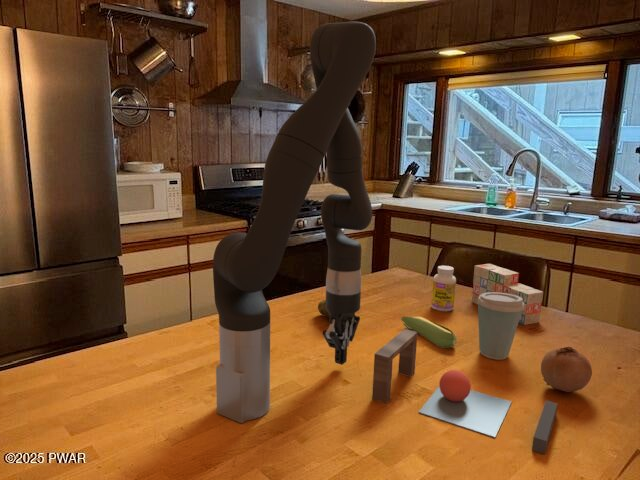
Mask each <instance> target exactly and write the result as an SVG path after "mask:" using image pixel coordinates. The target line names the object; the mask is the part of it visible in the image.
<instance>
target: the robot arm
mask: <svg viewBox="0 0 640 480" xmlns="http://www.w3.org/2000/svg"><path fill="white" fill-rule="evenodd" d="M376 40H377V39H376V35H375V31H374V29H373V28H372V27H371V26H370V25H369V24H367V23H365V22H361V21H342V22H341V21H340V22H330V23H329V22H328V23H324V24H323V23H322V24H321V25H319V26H318V27H317V28H316V29H315V30H314V31H313V33H312V35H311V38H310V41H309V57H310V64H311V65H310V66H311V70H312V75H313V79H314V82H315V83H314V84H315V88H316V90H315V91H314V93H312V94H311V95H310V96H309V98H308V99H306V101H304V102H303V103H302V104H301V105H300V106H299V107H298V108H297V109H296V110H295V111H294V112H293V113H292V114H291V115H290V116H289V117H288V118H287V119H286V121H284V123H283V124H282V125H281V127H280V128H279V131H278V133H277V135H276V136H275V138H274V141H273V143H272V146H271V148H270V149H269V152H268V154H267V156H266V157H267V158H266V160H265V164H264V169H263V177H262V192H261V199H260V203H259V206H258V210H257V213H256V214H255V217H254V219H253V221H252V223H251V225H250V227H249V229H248V231H247V233H244V232H231V233H229V234H227V235H225V236H224V237H222V238H221V239H220V240H219V242H218V244H217V245H216V248H215V250H214V253H213V258H212V277H213V278H212V280H213V292H214V293H213V295H214V296H213V297H214V304H215V308H216V310H217V313H218V323H219V324H218V325H219V327H218V328H219V329H218V330H219V331H218V332H219V334H218V335H219V363H218V365H216V367H215V375H216V376H215V379H216V383H215V384H216V413H217V414H219V415H220V416H224V417H226V418H229V419H230V420H233V421H235V422H237V423H240V424H243V423H245V422H247V421H251V420H255V419H258V418H261V417H263V416H264V415H266V414H267V413H268V412H269V410H270V408H271V407H270V406H271V308H270V305H269V304H268V301H267V300H266V298H265V295H264V293H263V290H264V289H266V287H268V286H269V285H270V284H271V282H272V281H273V279H274V278H275V276H276V275H277V272H278V271H279V269H280V266H281V263H282V260H283V256H284V254H285V251H286V248H287V245H288V242H289V240H290V236H291V233H292V230H293V227H294V225H295V223H296V220H297V218H298V216H299V213H300V212H301V209H302V206H303V204H304V202H305V199H306V198H307V195H308V192H309V191H310V188H311V186H312V184H313V182H314V180H315V178H316V176H317V174H318V172H319V169H320V168H321V165H322V164H323V161H324V158H325V156H326V169H327V180H328V182H329V183H330V184H331V185H333V186H335V187H337V188H341V189H343V190H344V191H346V192H347V195H346V194H339V193H333V194H329V195H327V196H326V197H324V199H323V201H322V204H321V206H320V217H321V222H322V227H323V230H324V234H325V235H324V236H325V238H326V239H325V240H326V244H327V249H328V250H327V257H328V258H327V269H326V270H327V271H326V275H325V277H326V278H325V300H326V303H325V306H326V309H327V310H328V311H329V312H330V314H331V315H330V318H328V319H329V320H328V324H329V326H328V328H327V329H323V331H322V336H323V338H324V339H325V341H326V343H327V345H328V346H329V348H333V349H334V363H336V364H338V365H344V364H345V363H346V362H347V358H348V357H347V356H348V347H349V346H350V342H353V341H354V337H355V334H356V331H357V329H358V325H359V323H360V320H361V317H360V316H359V315H356V313H357V312H359V311H360V309H361V299H362V298H361V297H362V296H361V295H362V271H361V270H362V244H361V243H360V242H359V241H358V240H355V239H352V238H350V237H348V236H346V235H345V234H344V232H343V230H342V229H344V230H351V231H363V230H365V229H367V228H368V227H369V226H370V224H371V221H372V219H373V207H372V202H371V200H370V197H369V193H368V191H367V187H366V183H365V180H364V174H363V146H362V140H361V135H360V133H359V130H358V128H357V124H355V121H354V119H353V117H352V114H351V112H350V109H349V106H350V104H351V102H352V101H353V99H354V97H355V96H356V94H357V92H358V91H359V89H360V87H361V85H362V83H363V81H364V79H365V78H366V76H367V74H368V72H369V71H370V69H371V67H372V64H373V62H374V58H375V55H376V49H377V41H376Z"/></svg>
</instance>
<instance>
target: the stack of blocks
mask: <svg viewBox="0 0 640 480" xmlns="http://www.w3.org/2000/svg"><path fill="white" fill-rule="evenodd" d="M519 278H520V272H517V271H514V270H511V269H508V268H504V267H500V266H498V265H495V264H493V263H485V264H484V263H483V264H476V265H474V271H473V281H472V283H473V284H472V295H471V302H472V303H474V304H476V305H478V303H477V301H478V298H479V296H480V295H481V294H483V293H487V292H499V293H507V294H512V295H516V296H519V297H521V298H523V300H522V302H524V310H523V311H522V313H521V316H520V319H519V323H518V324H521V325H522V326H526V325H533V324H538V323H540V317H541V311H542V303H543V297H544V291H542V290H540V289H536V288H534V287H531V286H528V285H525V284H522V283H519Z"/></svg>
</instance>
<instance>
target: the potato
mask: <svg viewBox="0 0 640 480" xmlns="http://www.w3.org/2000/svg"><path fill="white" fill-rule="evenodd" d="M325 303H326V299H324V300H322V301H320V302H318V305H317V309H318V312H319V313H320V314H321V315H322V316H324V317H326V318H328V319H330V315H331V314H330V312H329V311H328V310H327V309H326V306H325Z"/></svg>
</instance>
